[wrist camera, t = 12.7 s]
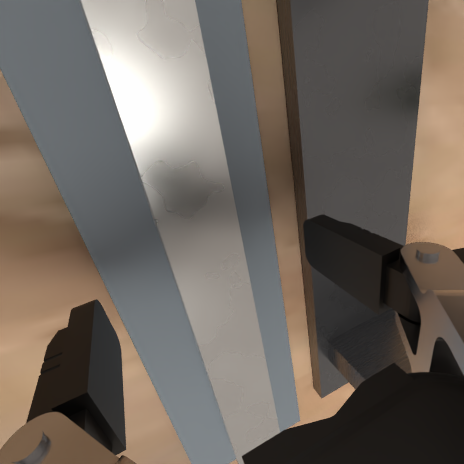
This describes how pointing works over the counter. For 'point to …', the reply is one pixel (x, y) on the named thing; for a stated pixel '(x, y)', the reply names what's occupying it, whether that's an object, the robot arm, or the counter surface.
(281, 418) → the blue-gray flat board
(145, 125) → the steel rail
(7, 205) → the counter surface
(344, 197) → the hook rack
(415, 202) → the counter surface
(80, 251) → the counter surface
